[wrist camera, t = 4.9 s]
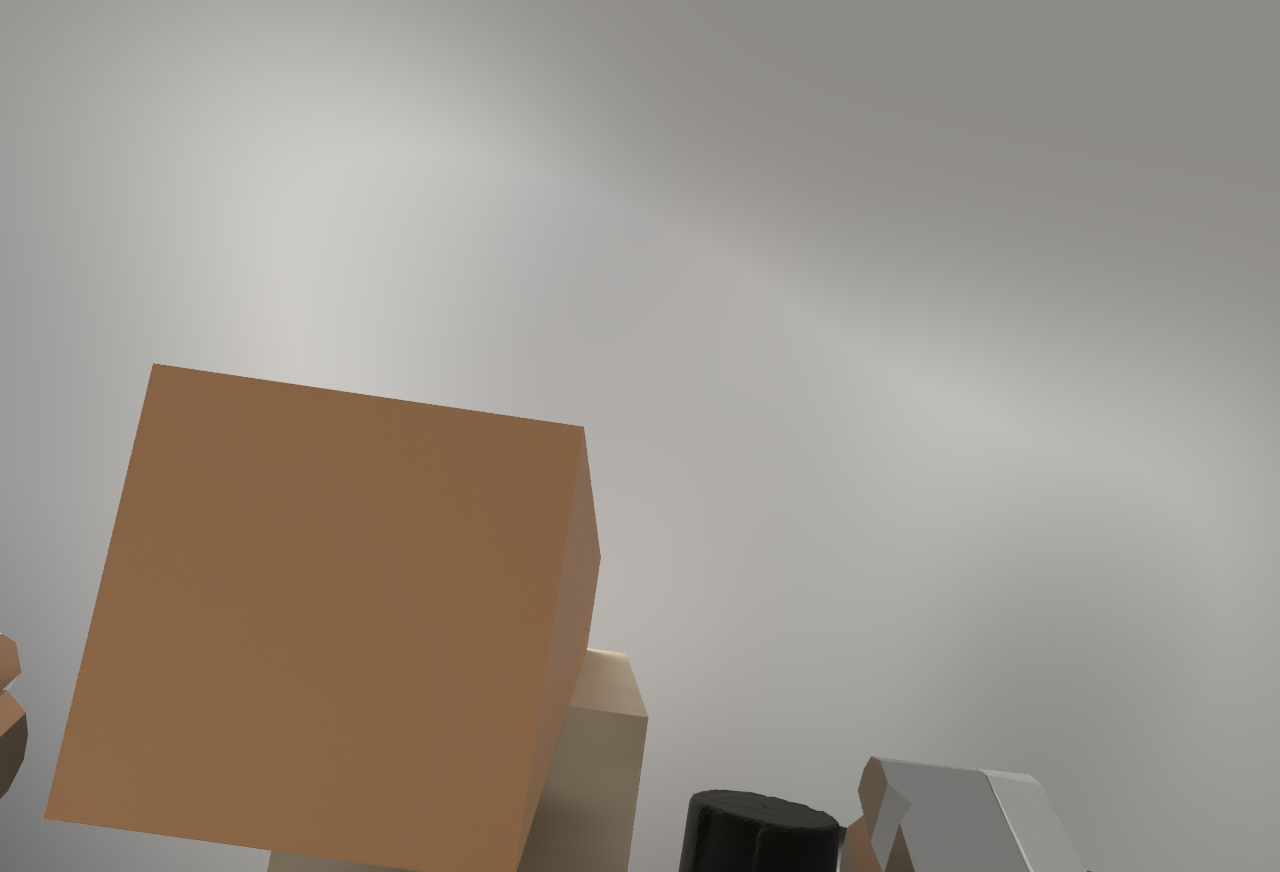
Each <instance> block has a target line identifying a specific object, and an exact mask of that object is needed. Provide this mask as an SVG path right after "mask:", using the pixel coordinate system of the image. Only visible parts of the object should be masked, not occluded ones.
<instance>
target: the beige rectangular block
mask: <svg viewBox="0 0 1280 872" xmlns="http://www.w3.org/2000/svg"><path fill="white" fill-rule="evenodd" d="M647 723H648V715H647V712H646V709H645V706H644V703H643V701H642V698H641V695H640V692H639V689H638V686H637V683H636V680H635V677H634V674H633V672H632V669H631V666H630V663H629V660H628V657H627V655H626V654H624V653H618V652H611V651H604V650H597V649H590V648H587V651H586V654H585V657H584V661H583V664H582V667H581V670H580V673H579V676H578V679H577V683H576V686H575V689H574V692H573V695H572V698H571V702H570V705H569V708H568V711H567V714H566V717H565V720H564V724H563V727H562V730H561V733H560V736H559V739H558V743H557V746H556V749H555V752H554V755H553V758H552V761H551V765H550V768H549V771H548V774H547V777H546V780H545V784H544V787H543V790H542V793H541V796H540V799H539V802H538V806H537V809H536V812H535V815H534V818H533V821H532V825H531V828H530V831H529V834H528V837H527V840H526V843H525V847H524V850H523V853H522V856H521V859H520V862H519V865H518V869H517V872H627V869H628V863H629V855H630V847H631V840H632V833H633V826H634V819H635V811H636V803H637V796H638V789H639V782H640V774H641V767H642V759H643V752H644V745H645V738H646V730H647ZM267 872H422V871H414V870H407V869H400V868H393V867H386V866H379V865H372V864H365V863H357V862H350V861H343V860H336V859H329V858H322V857H315V856H308V855H301V854H293V853H286V852H279V851H271V856H270V861H269V866H268V871H267Z"/></svg>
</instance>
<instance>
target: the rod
mask: <svg viewBox="0 0 1280 872" xmlns="http://www.w3.org/2000/svg"><path fill="white" fill-rule="evenodd" d="M600 558H601V556H600V549H599V541H598V533H597V526H596V518H595V510H594V502H593V494H592V487H591V480H590V471H589V463H588V456H587V448H586V440H585V434H584V427H581V426H574V425H567V424H561V423H554V422H547V421H540V420H533V419H527V418H520V417H513V416H506V415H499V414H493V413H486V412H479V411H472V410H466V409H459V408H451V407H445V406H438V405H432V404H425V403H417V402H411V401H404V400H397V399H391V398H383V397H377V396H370V395H364V394H357V393H350V392H343V391H336V390H329V389H323V388H315V387H309V386H302V385H295V384H289V383H282V382H275V381H268V380H261V379H255V378H248V377H241V376H234V375H227V374H221V373H213V372H207V371H200V370H194V369H186V368H180V367H173V366H166V365H160V364H153V366H152V371H151V375H150V379H149V383H148V387H147V392H146V396H145V400H144V404H143V408H142V412H141V416H140V421H139V425H138V429H137V433H136V437H135V441H134V446H133V450H132V454H131V458H130V462H129V466H128V471H127V475H126V479H125V483H124V487H123V491H122V496H121V500H120V504H119V508H118V512H117V517H116V521H115V525H114V529H113V533H112V537H111V541H110V545H109V549H108V554H107V558H106V562H105V566H104V570H103V574H102V579H101V583H100V587H99V591H98V595H97V600H96V604H95V608H94V612H93V616H92V620H91V624H90V629H89V633H88V637H87V641H86V645H85V649H84V653H83V658H82V662H81V666H80V670H79V674H78V679H77V683H76V687H75V691H74V695H73V699H72V703H71V708H70V712H69V716H68V720H67V724H66V728H65V733H64V737H63V741H62V745H61V749H60V753H59V758H58V762H57V766H56V770H55V775H54V779H53V783H52V787H51V791H50V795H49V799H48V803H47V807H46V812H45V816H44V818H45V819H52V820H59V821H66V822H73V823H81V824H88V825H95V826H101V827H108V828H116V829H123V830H130V831H137V832H144V833H151V834H158V835H165V836H172V837H180V838H187V839H194V840H201V841H208V842H215V843H222V844H229V845H237V846H244V847H251V848H258V849H265V850H272V851H279V852H286V853H293V854H301V855H308V856H315V857H322V858H329V859H336V860H343V861H350V862H357V863H365V864H372V865H379V866H386V867H393V868H400V869H407V870H414V871H422V872H517V869H518V865H519V862H520V859H521V856H522V853H523V850H524V847H525V843H526V840H527V837H528V834H529V831H530V828H531V825H532V821H533V818H534V815H535V812H536V809H537V806H538V802H539V799H540V796H541V793H542V790H543V787H544V784H545V780H546V777H547V774H548V771H549V768H550V765H551V761H552V758H553V755H554V752H555V749H556V746H557V743H558V739H559V736H560V733H561V730H562V727H563V724H564V720H565V717H566V714H567V711H568V708H569V705H570V702H571V698H572V695H573V692H574V689H575V686H576V683H577V679H578V676H579V673H580V670H581V667H582V664H583V661H584V657H585V654H586V651H587V645H588V639H589V632H590V625H591V618H592V612H593V606H594V599H595V592H596V585H597V579H598V571H599V565H600Z"/></svg>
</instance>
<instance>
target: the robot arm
mask: <svg viewBox="0 0 1280 872" xmlns="http://www.w3.org/2000/svg"><path fill="white" fill-rule="evenodd" d="M20 674H21V670H20V664H19V658H18V652H17V646H16V643H15V642H14V641H12V640H11V639H9V638H8V637H6V636H5V635H3V634H1V633H0V799H1V797H2V796H3V795H4V794H5V793H6V792H7V791H8V789H9V787H10V786H11V784H12V782H13V780H14V778H15V776H16V774H17V772H18V770H19V768H20V766H21V764H22V762H23V760H24V754H25V748H26V743H27V737H28V732H27V721H26V713H25V711H24V710H23V709H22V708H21V707H20V705H19V704H18V703H17V702H16V700H15V699H14V698H13V697H12V696H11V694H10V693H9V692H8V691H7V690H8V689H9V687H10V686H11V685H12V684H13V682H14V681H15V680H16V679H17V678H18V676H19V675H20ZM858 793H859V797H860V801H861V805H862V809H863V813H864V815H863V816H862V817H861V818H859V819H858V820H857V821H855V822H854V823H853V824H852V825H850V826H849V827H848V828H847V832H846V837H845V841H844V845H843V849H842V854H841V862H840V872H1087V871H1086V869H1085V867H1084V865H1083V863H1082V861H1081V859H1080V858H1079V856H1078V854H1077V852H1076V850H1075V848H1074V846H1073V845H1072V843H1071V841H1070V839H1069V837H1068V835H1067V833H1066V831H1065V830H1064V828H1063V826H1062V824H1061V822H1060V820H1059V818H1058V817H1057V815H1056V813H1055V811H1054V809H1053V807H1052V805H1051V803H1050V801H1049V800H1048V798H1047V796H1046V794H1045V792H1044V790H1043V788H1042V786H1041V785H1040V783H1039V782H1038V781H1037V780H1035V779H1034V778H1033V777H1032V776H1030V775H1027V774H1019V773H1009V772H1001V771H992V770H983V769H976V770H968V769H961V768H953V767H946V766H939V765H931V764H924V763H916V762H909V761H901V760H894V759H887V758H879V757H871V758H870V760H869V761H868V763H867V765H866V766H865V768H864V771H863V774H862V778H861V781H860V785H859V788H858Z"/></svg>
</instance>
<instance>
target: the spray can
mask: <svg viewBox="0 0 1280 872" xmlns="http://www.w3.org/2000/svg"><path fill="white" fill-rule="evenodd" d="M840 832H841V831H840V827H839V824H838V822H837V821H836V820H835V819H834V818H833V817H832V816H830V815H828V814H827V813H825V812H824V811H816V810H814V809H811V808H809V807H808V806H806V805H803V804H798V803H793V802H788V801H786V800H783V799H779V798H776V797H766V796H764V795H760V794H756V793H752V792H741V791H730V790H709V791H703V792H699V793H696V794H694V795H693V796H692V797H691V799H690V802H689V809H688V815H687V821H686V828H685V835H684V842H683V848H682V854H681V860H680V867H679V872H836V868H837V858H838V848H839V838H840Z"/></svg>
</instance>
